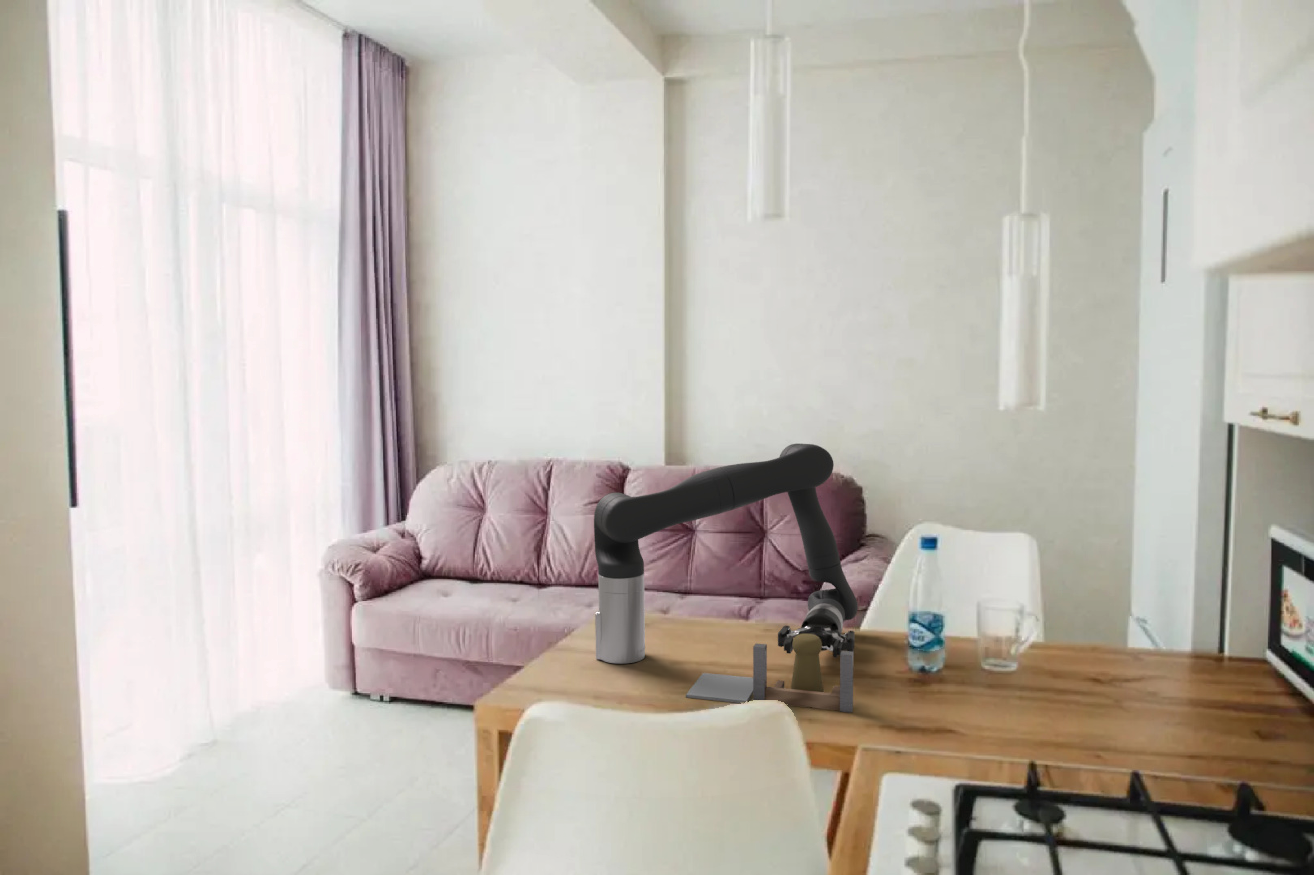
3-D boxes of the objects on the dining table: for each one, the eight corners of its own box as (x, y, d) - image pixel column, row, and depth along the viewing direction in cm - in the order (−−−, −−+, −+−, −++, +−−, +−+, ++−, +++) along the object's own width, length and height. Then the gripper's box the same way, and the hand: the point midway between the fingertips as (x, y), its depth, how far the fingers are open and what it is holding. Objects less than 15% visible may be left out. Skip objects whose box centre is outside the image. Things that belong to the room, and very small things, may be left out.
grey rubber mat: (686, 697, 166) (685, 694, 166) (703, 675, 177) (703, 672, 177) (746, 703, 162) (746, 700, 162) (760, 680, 174) (760, 678, 174)
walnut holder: (753, 702, 163) (753, 646, 162) (762, 685, 171) (762, 632, 170) (851, 712, 158) (852, 655, 157) (856, 695, 166) (857, 640, 165)
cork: (822, 689, 169) (823, 630, 168) (825, 702, 163) (825, 640, 162) (789, 688, 169) (789, 629, 169) (790, 701, 163) (790, 640, 163)
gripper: (787, 605, 188) (773, 627, 173) (859, 610, 184) (851, 633, 169) (787, 641, 189) (773, 666, 173) (858, 647, 185) (850, 673, 169)
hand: (811, 650), depth 171 cm, fingers open, 8 cm apart
